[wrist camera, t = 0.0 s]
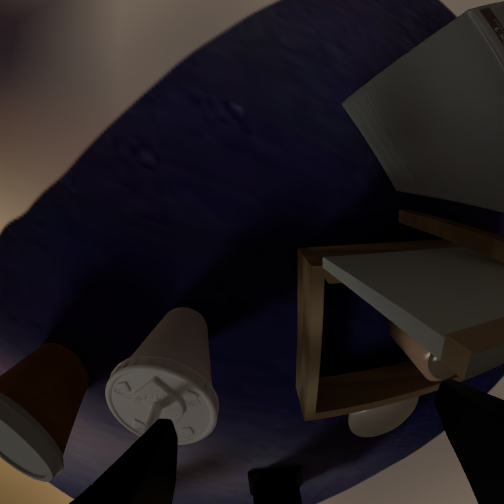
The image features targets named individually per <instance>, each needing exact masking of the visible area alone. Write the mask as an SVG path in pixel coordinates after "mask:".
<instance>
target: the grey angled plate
mask: <svg viewBox="0 0 504 504" xmlns="http://www.w3.org/2000/svg"><path fill="white" fill-rule="evenodd" d="M323 268H324V269H325V270H327V271H328V272H329V273H330V274H332V275H333V276H334V277H336V278H337V279H338V280H340V281H341V282H342V283H343V284H345V285H346V286H347V287H349V288H350V289H351V290H352V291H354V292H355V293H356V294H358V295H359V296H360V297H361V298H363V299H364V300H365V301H367V302H368V303H369V304H370V305H372V306H373V307H374V308H375V309H377V310H378V311H379V312H380V313H382V314H383V315H384V316H385V317H387V318H388V319H389V320H390V321H392V322H393V323H394V324H395V325H397V326H398V327H399V328H400V329H402V330H403V331H404V332H405V333H407V334H408V335H409V336H410V337H412V338H413V339H414V340H415V341H416V342H418V343H419V344H420V345H421V346H423V347H424V348H425V349H426V350H427V351H429V352H430V353H431V354H432V355H434V356H435V357H436V358H437V359H438V360H440V361H441V362H442V363H443V364H444V365H446V366H447V367H448V368H449V369H450V370H451V371H453V372H454V373H455V374H456V375H457V376H459V377H460V378H461V379H462V380H463V381H464V380H467V379H469V378H472V377H474V376H477V375H479V374H481V373H484V372H486V371H488V370H490V369H493V368H495V367H497V366H499V365H501V364H503V363H504V263H502V262H500V261H497V260H495V259H493V258H490V257H488V256H486V255H483V254H481V253H479V252H476V251H474V250H471V249H469V248H466V247H464V246H462V247H450V248H438V249H425V250H412V251H398V252H385V253H371V254H357V255H343V256H329V257H323Z"/></svg>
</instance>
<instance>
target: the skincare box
mask: <svg viewBox="0 0 504 504" xmlns="http://www.w3.org/2000/svg"><path fill="white" fill-rule="evenodd" d="M342 106H343V107H344V109H345V110H346V112H347V113H348V114H349V116H350V117H351V119H352V120H353V122H354V123H355V124H356V126H357V127H358V129H359V130H360V132H361V133H362V135H363V136H364V138H365V139H366V141H367V143H368V144H369V146H370V147H371V149H372V151H373V152H374V154H375V155H376V157H377V159H378V160H379V162H380V164H381V165H382V167H383V169H384V170H385V172H386V174H387V175H388V177H389V179H390V181H391V182H392V184H393V186H394V188H395V189H396V191H400V192H406V193H411V194H418V195H423V196H429V197H434V198H440V199H445V200H450V201H455V202H460V203H465V204H469V205H474V206H478V207H482V208H487V209H491V210H496V211H500V212H504V2H498V3H493V4H488V5H484V6H480V7H477V8H473V9H469V10H467V11H465V12H464V13H463V14H462V15H460V16H459V17H457V18H456V19H454V20H453V21H452V22H450V23H449V24H447V25H446V26H445V27H443V28H442V29H440V30H439V31H437V32H436V33H434V34H433V35H431V36H430V37H429V38H427V39H426V40H424V41H423V42H422V43H420V44H419V45H417V46H416V47H415V48H413V49H412V50H411V51H409V52H408V53H407V54H405V55H403V56H402V57H400V58H399V59H398V60H396V61H395V62H394V63H392V64H391V65H390V66H388V67H387V68H386V69H385V70H383V71H382V72H381V73H379V74H378V75H376V76H375V77H374V78H372V79H371V80H370V81H369V82H367V83H366V84H365V85H363V86H362V87H361V88H359V89H358V90H357V91H356V92H354V93H353V94H352V95H351V96H349V97H348V98H347V99H346V100H345V101H343V102H342Z"/></svg>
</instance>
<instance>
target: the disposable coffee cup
mask: <svg viewBox="0 0 504 504" xmlns="http://www.w3.org/2000/svg"><path fill="white" fill-rule="evenodd" d="M88 384H89V376H88V372H87V370H86V368H85V366H84V364H83V363H82V361H81V360H80V359H79V358H78V357H77V356H76V354H74V353H73V352H72V351H71V350H70V349H68V348H67V347H65V346H63V345H61V344H58V343H53V342H49V343H46V344H44V345H42V346H41V347H40V348H38V349H37V350H35V351H34V352H32V353H31V354H30V355H28V356H27V357H26V358H24V359H23V360H21V361H20V362H19V363H17V364H16V365H15V366H13V367H12V368H11V369H9V370H8V371H7V372H5V373H4V374H2V375H1V376H0V457H1V458H2V459H3V460H5V461H6V462H7V463H8V464H10V465H11V466H13V467H14V468H15V469H17V470H19V471H20V472H22V473H23V474H25V475H27V476H29V477H31V478H34V479H37V480H40V481H45V482H48V481H51V480H52V479H53V478H54V477H55V475H59V474H61V473H62V472H63V468H64V465H63V454H64V451H65V448H66V444H67V442H68V438H69V436H70V433H71V430H72V427H73V424H74V421H75V418H76V416H77V413H78V410H79V408H80V405H81V402H82V400H83V397H84V394H85V392H86V389H87V387H88Z"/></svg>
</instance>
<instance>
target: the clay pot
mask: <svg viewBox="0 0 504 504" xmlns="http://www.w3.org/2000/svg"><path fill="white" fill-rule="evenodd" d="M387 328H388V332H389V334H390V336H391V337H392V338H393V339H394V341H395V342H396V343H397V344H398V345H399V346H400V348H401V349H402V350H403V351H404V352H405V353H406V355H407V356H408V357H409V358H410V359H411V361H412V362H413V363H414V364H415V365H416V367H417V368H418V369H419V370H420V371H421V373H422V374H423V375H424V376H425V377H426V378H427V379H428V380H430V381H440V380H444V379H447V378H450V377H452V376H453V375H455V373H454V372H453V371H451V370H450V369H449V368H448V367H447V366H446V365H444V364H443V363H442V362H441V361H440V360H438V359H437V358H436V357H435V356H434V355H432V354H431V353H430V352H429V351H427V350H426V349H425V348H424V347H423V346H421V345H420V344H419V343H418V342H416V341H415V340H414V339H413V338H412V337H410V336H409V335H408V334H407V333H405V332H404V331H403V330H402V329H400V328H399V327H398V326H397V325H395V324H394V323H393V322H392V321H390V320H389V319H388V320H387Z"/></svg>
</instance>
